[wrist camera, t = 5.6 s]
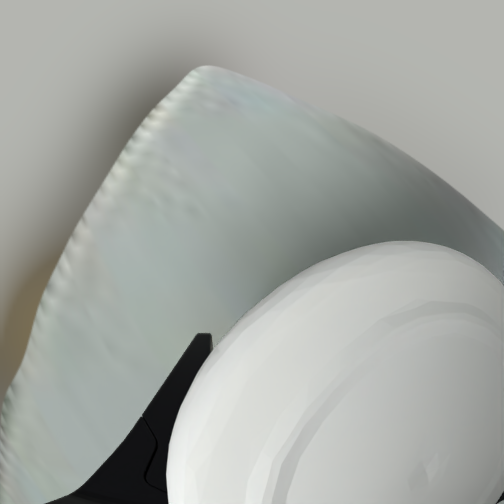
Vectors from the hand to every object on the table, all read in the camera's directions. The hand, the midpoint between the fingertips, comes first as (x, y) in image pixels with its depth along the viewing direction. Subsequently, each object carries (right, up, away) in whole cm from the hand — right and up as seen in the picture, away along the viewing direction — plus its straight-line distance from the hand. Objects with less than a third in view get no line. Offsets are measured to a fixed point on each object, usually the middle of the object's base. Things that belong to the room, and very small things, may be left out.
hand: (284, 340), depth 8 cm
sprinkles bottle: (-1, -3, +6) cm, 7 cm away
